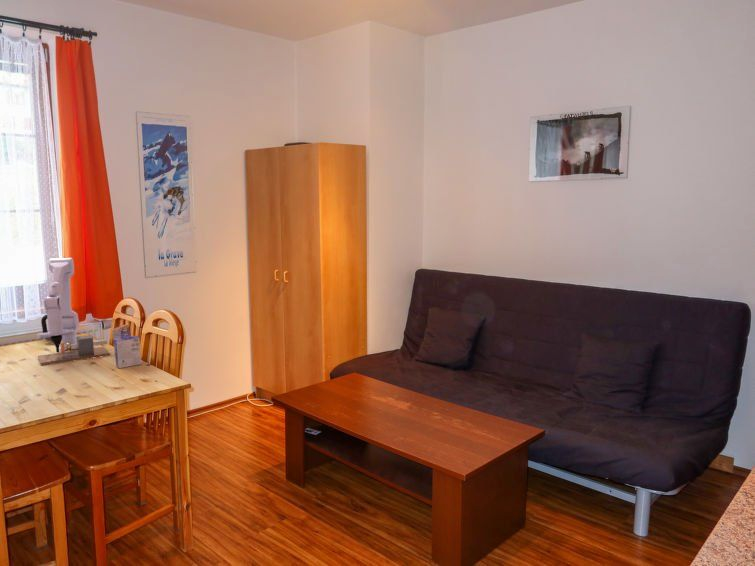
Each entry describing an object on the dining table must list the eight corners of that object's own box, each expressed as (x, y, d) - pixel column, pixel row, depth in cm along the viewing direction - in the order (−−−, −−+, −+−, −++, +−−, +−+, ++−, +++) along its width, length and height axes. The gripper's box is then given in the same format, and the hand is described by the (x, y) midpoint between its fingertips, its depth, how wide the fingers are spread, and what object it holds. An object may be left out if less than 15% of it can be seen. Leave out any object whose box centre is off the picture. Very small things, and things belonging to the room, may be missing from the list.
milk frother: (70, 335, 317) (68, 308, 315) (78, 341, 305) (76, 312, 303) (40, 340, 308) (37, 311, 306) (47, 345, 296) (44, 316, 294)
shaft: (61, 354, 270) (60, 343, 269) (60, 352, 274) (59, 341, 273) (107, 348, 280) (106, 337, 280) (105, 345, 285) (105, 335, 284)
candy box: (124, 357, 274) (121, 324, 272) (133, 357, 274) (130, 324, 271) (114, 362, 265) (111, 329, 263) (123, 362, 265) (121, 329, 262)
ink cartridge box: (138, 361, 266) (135, 330, 264) (142, 364, 262) (139, 332, 260) (114, 366, 260) (112, 333, 258) (118, 368, 256) (116, 335, 254)
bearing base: (40, 365, 262) (38, 346, 260) (38, 358, 273) (36, 340, 272) (109, 355, 277) (108, 337, 276) (104, 349, 289) (102, 331, 287)
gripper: (37, 326, 262) (40, 356, 264) (74, 322, 270) (76, 351, 272) (36, 323, 268) (39, 352, 270) (72, 319, 276) (74, 348, 278)
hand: (57, 351), depth 271 cm, fingers closed
